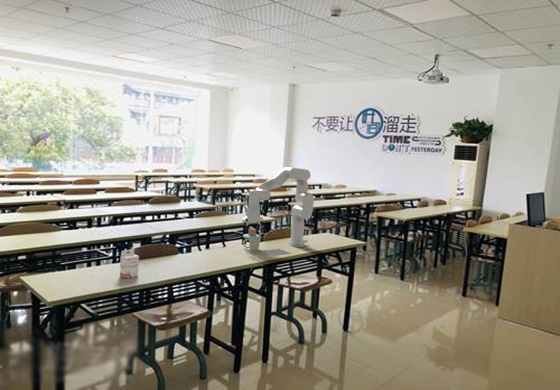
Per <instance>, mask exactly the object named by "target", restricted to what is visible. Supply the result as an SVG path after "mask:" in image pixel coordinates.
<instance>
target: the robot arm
mask: <svg viewBox="0 0 560 390" xmlns="http://www.w3.org/2000/svg"><path fill="white" fill-rule="evenodd" d="M311 176H312V175H311V171H310V170H309V169H305V168H297V167H289V166H285V167H283V168H282V169H281V170H280V171H278V173H276V174H275V175H274V176H273V177H271V178H270V179H268V180H266V181H264V182H262V183H261V184H260V185H258V186H257V187H256V188H255V189H250V190H249V192H248V205H247V207H248V208H246V212H245V217H243V218H242V219H241V221H242V223H243V225H244V231H245V232H249V224H256V228H255V229H256V231H260V228H261V225H262V223H263V221H264V218H263V217H261V211H260V208H261V205H260V201H267V200H269V199H271V196H272V194H271V192H270V190H273V189H277V188H280V187H281V186H283V185H284V184H285V183H286V182H287V181H288V180H294V181H295V183H296V191H295V197H294V198H295V199H294V201H295V202H296V203H298V204H296V205H293V207H292V208H291V213H290V214H291V228H290V229H291V231H290V242H288V244H287V245H288V246H291V247H293V248H294V247H295V248H303V247H305V246H306V245H305V243H307V244H308V239H304V232H305V220H309V219H310V218H311V217H312V215H313V209H314V203H315V197H314V196H313V193H311V192H308V190H309V189H308V188H309V185H308V184H309V183H308V180H309V179H311Z"/></svg>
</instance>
